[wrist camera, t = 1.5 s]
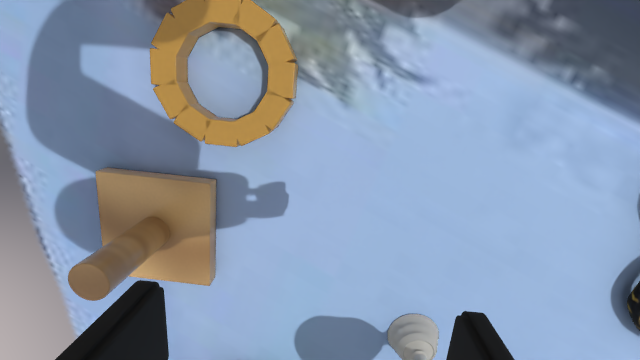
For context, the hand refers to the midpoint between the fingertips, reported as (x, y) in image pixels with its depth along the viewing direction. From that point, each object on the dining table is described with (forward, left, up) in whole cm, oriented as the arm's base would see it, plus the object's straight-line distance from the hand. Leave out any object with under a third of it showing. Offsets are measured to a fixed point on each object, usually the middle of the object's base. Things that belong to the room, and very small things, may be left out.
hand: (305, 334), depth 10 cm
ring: (-8, -9, -19) cm, 22 cm away
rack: (+6, -15, -19) cm, 25 cm away
